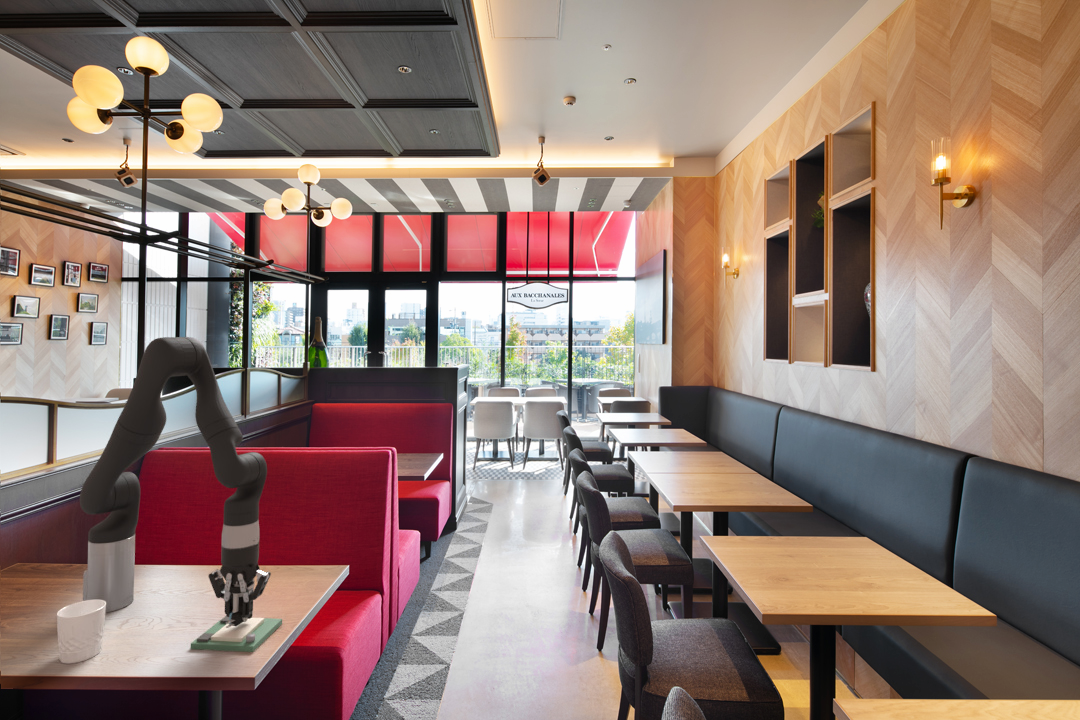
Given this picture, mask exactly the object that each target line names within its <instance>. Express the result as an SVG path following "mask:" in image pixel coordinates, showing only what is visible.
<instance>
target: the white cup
mask: <svg viewBox="0 0 1080 720" xmlns="http://www.w3.org/2000/svg"><path fill="white" fill-rule="evenodd" d="M105 611H106V602H105V601H104V600H86V601H83V600H82V601H78V602H77V601H76V602H75V603H70V604H69V605H66V606H64V607H62V608H61V609H59V610H58V611H57V612H56V626H57V627H56V629H57V630H56V631H57V647H58V659H59V660H58V661H60V662H61V663H62V664H75V663H76V664H77V663H81V662H84V661H87V660H90V659H91V658H94V657H95V656H97V655H98V654H99V653H100V652H101V650H102V647H103V638H104V633H105V632H104V631H105V623H106V612H105Z"/></svg>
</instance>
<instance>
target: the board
mask: <svg viewBox="0 0 1080 720" xmlns="http://www.w3.org/2000/svg"><path fill="white" fill-rule="evenodd" d="M228 621H229V617H226V615H224V617H222V618H221V619H219V620H218V622H216V623H214V624H213V625H212V626H211V627H209V629H207V630H206V631H204V632H203V633H202V634H201V635H200V636H198V637H197V638H196V639H194V640H193V641H191V642H190V650H202V651H203V650H206V651H225V652H244V653H247V652H248V653H249V652H250V653H253V652H255V651H256V650H257V649H258V648H259V647H260V646H261V645H262V644H263V643H264V642H265V641H267V639H268V638H269V637H270V636H272V634H273V633H275V631H276V630H278V628H279V627H281V626H282V624H283V618H274V617H273V618H271V617H270V618H269V617H253V616H252V618H250V619H247V621H246V622H242V623H241V624H239V625H238V626H231V627H229V626H228V625H229V624H226V622H228ZM228 623H229V622H228ZM226 626H228V627H229V628H226Z"/></svg>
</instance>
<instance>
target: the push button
mask: <svg viewBox="0 0 1080 720" xmlns="http://www.w3.org/2000/svg"><path fill="white" fill-rule="evenodd" d="M253 584H255V581H254V582H251V583H249V584H248V585H246V586H247V587H249V586H251V585H253ZM233 585H234V584H233ZM250 590H251V589H250ZM250 590H249V591H250ZM230 593H233V611H232V613H231V614H230V615H229V621H228V622H229V623H228V622H226V624H229V625H228V626H229V627H231V626H238V625H239V624H241V623H242V622H246V621H247V619H250V618H252V617H253V612H252V613H251V614H250V615H249V616H248V617H247V618H243V617H242V610H243V602H244V600H243V593H241V590H240V585H237V582H236V583H235V585H234V586H231V587H230ZM228 626H226V628H229V627H228Z"/></svg>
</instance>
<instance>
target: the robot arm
mask: <svg viewBox="0 0 1080 720" xmlns="http://www.w3.org/2000/svg"><path fill="white" fill-rule="evenodd" d="M182 376H183V377H184V376H187V377H188V379H190V381H191V382H192V384H193V385H194V386H193V387H194V389H195V391H196V404H195V413H194V415H195V422H196V425H197V428H198V429H199V431H200V433H201V435H202V437H203V439H204V441H205V442H206V444H207V446H208V448H209V451H210V456H211V457H210V458H211V461H212V465H213V471H214V476H215V477H216V479H217V481H218V482H219V483H220V484H221V485H223V486H224V487H226V488H228V489H235V490H236V491H234V493H233V494H232V495H231V496H229V497H227V498H226V499H225V501H224V505H223V525H222V531H221V553H220V555H221V557H220V558H221V560H220V562H221V566H220V569H215V570H214V571H212V572H210V573H208V580H209V582H210V585H211V587H212V589H213V592H214V594H215V597H216V599H222V600H223V601H224V614H225V616H226V617H229V615H230V614H231V613H232V611H233V593H230V587H231V586H234V585H235V583H236V582H237V585H240V590H241V593H243V600H244V602H243V610H242V617H243V618H247V617H248V616H249V615H250V614H251V613H252V614H253V611H254V601H256V600H257V599H258V598H259V597H260V596H262V594H263V593H264V591H265V589H266V586H267V584H268V582H269V579H270V577H271V575H272V573H271V572H270V571H266V572H265V571H262V570H261V568H260V565H259V558H260V557H259V556H260V555H259V554H260V536H261V535H260V524H259V523H260V522H259V521H260V520H259V518H260V517H259V515H260V505H259V504H260V500H261V497H262V494H263V491H264V486H265V483H266V481H267V475H268V466H267V462H266V459H265V458H264V456H263V455H262V454H260V453H259V452H255V451H253V452H252V451H251V452H246V453H242V454H241V453H240V454H238V453H237V449H236V447H238V446H239V445H241V443H242V442H243V440H244V437H243V434H242V433H243V432H241V429H240V428H239V426H238V424H237V422H236V420H235V419H234V417H233V416H232V413H231V412H230V410H229V408H228V406H227V405H226V402H225V400H224V398H223V395H222V392H221V388H220V386H219V383H218V380H217V377H216V373H215V371H214V368H213V366H212V363H211V359H210V357H209V355H208V352H207V350H206V348H205V346H204V345H203V344H202V342H201V341H200V340H198V339H197V338H195V337H191V336H190V337H189V336H179V337H178V336H173V337H172V336H171V337H169V336H167V337H166V336H165V337H158V338H154V339H153V340H151V341H150V342H149V344H148V345H147V347H146V348H145V350H144V353H143V354H142V358H141V361H140V363H139V367H138V370H137V374H136V377H135V381H134V383H133V385H132V388H131V390H130V393H129V395H128V397H127V401H126V402H125V405H124V407H123V409H122V410H121V413H120V414H119V415H118V416H119V417H118V419H117V421H116V423H115V424H114V427H113V429H112V432H111V434H110V437H109V439H108V441H107V443H106V444H105V447H104V449H103V451H102V453H101V455H100V457H99V459H98V460H97V461H96V463H95V465H94V466H93V468H92V470H91V471H90V473H88V476H87V477H86V479H85V480H84V483H83V485H82V488H81V490H80V493H79V506H80V508H81V510H82V511H83V512H84V513H86V514H87V515H102V514H107V513H109V514H108V516H107V517H105V518H104V519H103V520H102V521H100V522H99V523H97V524H95V525H94V526H92V527H91V528H90V529H89V531H88V536H87V537H88V539H87V569H85V570H84V571H83V576H82V577H83V578H82V579H83V580H82V601H86V600H104V601H105V602H106V611H105V613H109V612H113V611H117V610H121V609H123V608H125V607H127V606H128V605H130V604H132V603H133V601H134V595H135V592H134V591H135V590H134V589H135V564H136V563H135V557H136V555H135V553H136V528H137V525H138V521H139V515H140V514H139V511H140V502H141V484H140V480H139V477H138V476H137V475H136V474H135V473H133V472H131V471H126V469H128V468H129V467H130V466H132V465H133V464H134V463H135V462H137V461H138V460H140V459H141V458H142V457H143V456H145V455H146V454H147V453H148V452H149V451H150V450H152V449H153V447H154V446H155V445H156V444H157V442H158V441H159V439H160V436H161V434H162V432H163V430H164V428H165V426H166V423H167V413H166V410H165V407H164V403H163V402H162V399H161V395H162V392H163V390H164V387H165V385H166V383H167V382H168V380H169V379H170V378H171V377H182ZM255 578H256V582H257V583H256V585H255ZM251 582H254V584H253V585H251V586H249V587H247V586H246V585H248V584H249V583H251ZM233 584H234V585H233ZM254 587H255V588H254ZM250 589H251V590H250ZM249 590H250V591H249Z"/></svg>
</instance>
